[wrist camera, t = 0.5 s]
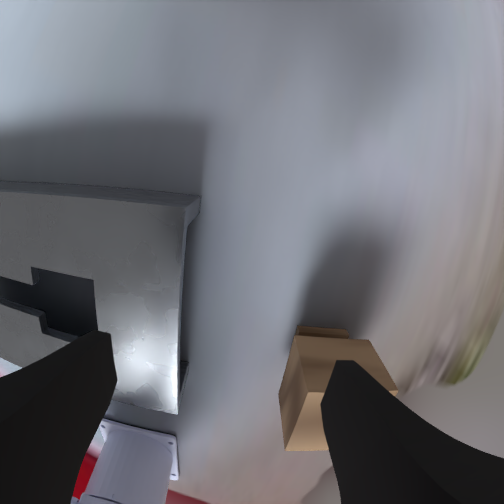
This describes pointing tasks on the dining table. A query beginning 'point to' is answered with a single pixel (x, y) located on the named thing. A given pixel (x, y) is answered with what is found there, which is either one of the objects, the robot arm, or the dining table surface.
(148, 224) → the grey slotted base block
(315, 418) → the peg
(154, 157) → the dining table surface
